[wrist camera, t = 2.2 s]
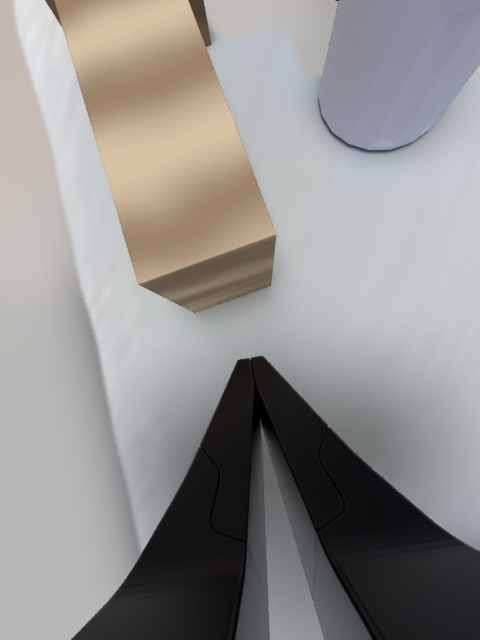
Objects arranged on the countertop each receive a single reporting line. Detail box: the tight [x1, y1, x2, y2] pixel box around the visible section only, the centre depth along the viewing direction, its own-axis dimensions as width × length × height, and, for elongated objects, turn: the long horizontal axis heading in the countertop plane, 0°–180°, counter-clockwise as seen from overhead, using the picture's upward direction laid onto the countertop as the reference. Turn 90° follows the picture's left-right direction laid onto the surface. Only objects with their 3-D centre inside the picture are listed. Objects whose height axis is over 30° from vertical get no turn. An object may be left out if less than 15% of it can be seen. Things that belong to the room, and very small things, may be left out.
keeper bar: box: [55, 0, 276, 313], centre depth 16 cm, size 16×6×9 cm, turn 19°
